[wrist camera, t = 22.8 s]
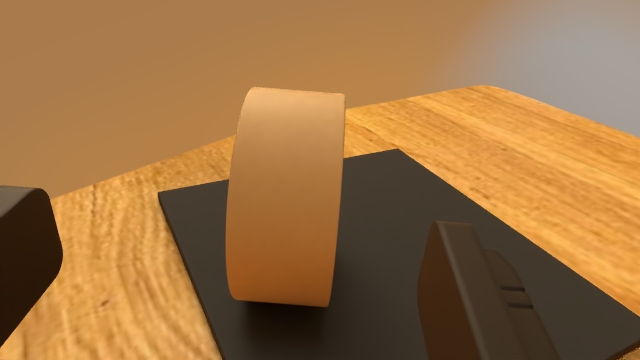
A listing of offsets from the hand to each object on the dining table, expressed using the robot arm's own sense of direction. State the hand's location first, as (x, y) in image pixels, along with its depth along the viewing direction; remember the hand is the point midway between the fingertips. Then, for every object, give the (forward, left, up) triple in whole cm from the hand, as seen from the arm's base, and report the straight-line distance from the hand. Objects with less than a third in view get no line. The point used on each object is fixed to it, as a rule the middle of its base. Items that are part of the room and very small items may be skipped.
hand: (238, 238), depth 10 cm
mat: (-9, +11, -11) cm, 18 cm away
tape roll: (-8, +5, -10) cm, 14 cm away
